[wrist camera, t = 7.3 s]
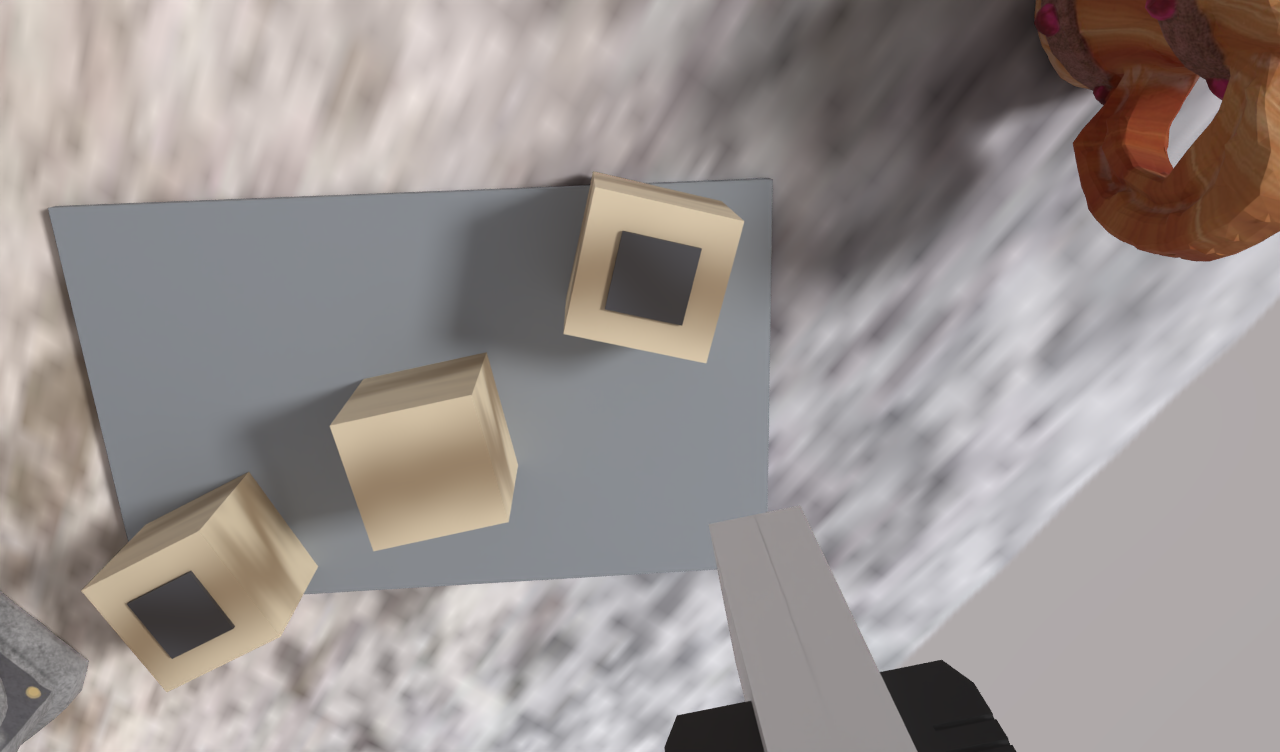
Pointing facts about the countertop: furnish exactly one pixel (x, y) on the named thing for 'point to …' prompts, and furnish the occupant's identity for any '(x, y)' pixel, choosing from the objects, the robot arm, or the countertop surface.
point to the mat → (408, 338)
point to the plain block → (427, 452)
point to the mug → (1150, 100)
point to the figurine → (33, 675)
